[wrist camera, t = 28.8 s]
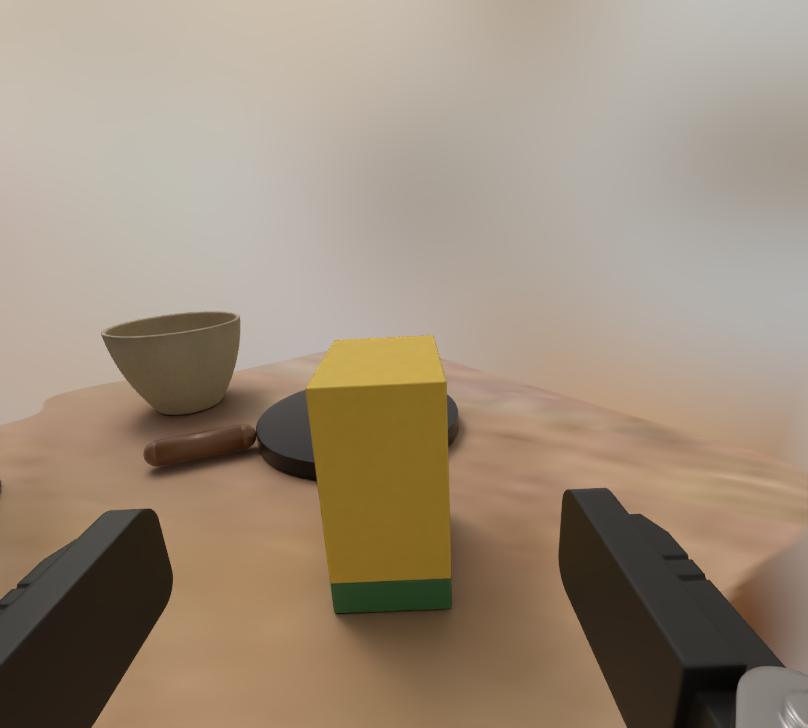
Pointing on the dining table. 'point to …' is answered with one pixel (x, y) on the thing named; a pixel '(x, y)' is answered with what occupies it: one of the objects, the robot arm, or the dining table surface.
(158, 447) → the pan
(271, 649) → the dining table surface
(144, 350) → the beige bowl
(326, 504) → the sponge
